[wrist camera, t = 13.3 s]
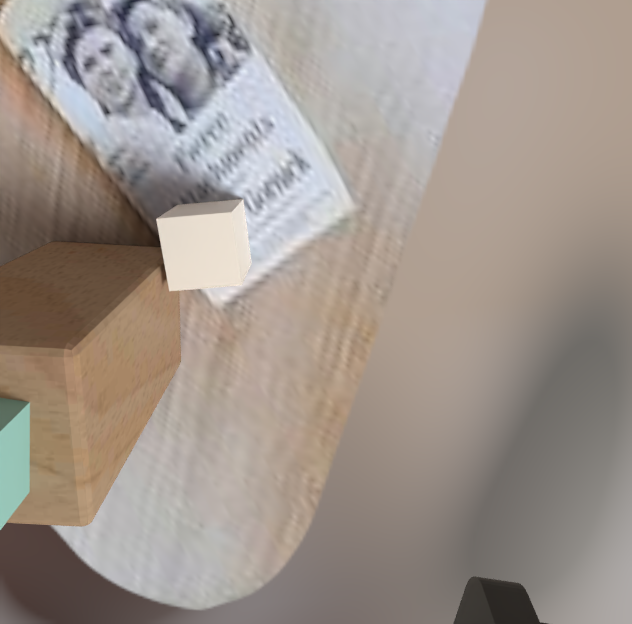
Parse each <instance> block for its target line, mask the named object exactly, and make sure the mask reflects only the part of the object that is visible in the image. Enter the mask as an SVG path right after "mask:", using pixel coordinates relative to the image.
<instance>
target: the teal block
mask: <svg viewBox="0 0 632 624" xmlns="http://www.w3.org/2000/svg"><path fill="white" fill-rule="evenodd" d="M29 490H30V402H25V401H19V400H12V399H5V398H0V530H1V528H2V527H3V526H4V525H5V523H6V522H7V521H8V519H9V518H10V517H11V515H12V514H13V513H14V512H15V510H16V509H17V508H18V506H19V505H20V504H21V502H22V501H23V500H24V499H25V497H26V496H27V495H28V493H29Z"/></svg>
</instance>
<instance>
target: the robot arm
mask: <svg viewBox="0 0 632 624" xmlns="http://www.w3.org/2000/svg"><path fill="white" fill-rule="evenodd" d="M454 624H547V623H540V622H539V619H538V617H537V615H536V612H535V610H534V608H533V605H532V603H531V601H530V598H529V596H528V594H527V592H526V590H525V588H524V587H523V586H522V585H521V584H519V583H515V582H508V581H501V580H495V579H488V578H481V577H471V578H470V579H469V581H468V583H467V585H466V588H465V591H464V594H463V597H462V600H461V603H460V606H459V609H458V612H457V615H456V618H455V621H454Z"/></svg>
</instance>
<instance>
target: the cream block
mask: <svg viewBox="0 0 632 624" xmlns="http://www.w3.org/2000/svg"><path fill="white" fill-rule="evenodd" d="M156 221H157V226H158V232H159V237H160V243H161V248H162V254H163V259H164V265H165V270H166V276H167V281H168V287H169V291H179V290H191V289H203V288H215V287H227V286H239V285H242V283H243V281H244V279H245V277H246V275H247V272H248V270H249V268H250V266H251V264H252V262H251V254H250V247H249V239H248V231H247V224H246V216H245V208H244V201H243V199H237V200H226V201H214V202H203V203H192V204H181V205H176V206H175V207H173V208H172V209H170V210H169V211H167V212H166V213H164V214H163V215H161V216H160V217H158V218H157V219H156Z"/></svg>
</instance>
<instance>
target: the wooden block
mask: <svg viewBox="0 0 632 624" xmlns="http://www.w3.org/2000/svg"><path fill="white" fill-rule="evenodd" d="M180 362H181V346H180V306H179V291H169V287H168V281H167V276H166V270H165V265H164V259H163V254H162V248H161V247H147V246H129V245H111V244H93V243H76V242H58V241H53V242H50V243H48V244H46V245H44V246H42V247H40V248H38V249H35V250H33V251H31V252H29V253H27V254H25V255H23V256H21V257H19V258H17V259H15V260H13V261H11V262H9V263H6V264H4V265H2V266H0V398H5V399H12V400H19V401H25V402H30V490H29V493H28V495H27V496H26V497H25V499H24V500H23V501H22V502H21V504H20V505H19V506H18V508H17V509H16V510H15V512H14V513H13V514H12V515H11V517H10V518H9V519H8V521H7V522H6V523H24V524H43V525H63V526H86V525H88V524H90V523H91V522H92V520H93V519H94V517H95V515H96V513H97V512H98V510H99V508H100V506H101V504H102V503H103V501H104V499H105V497H106V495H107V494H108V492H109V490H110V488H111V486H112V485H113V483H114V481H115V479H116V478H117V476H118V474H119V472H120V470H121V469H122V467H123V465H124V463H125V461H126V460H127V458H128V456H129V454H130V453H131V451H132V449H133V447H134V445H135V444H136V442H137V440H138V438H139V436H140V435H141V433H142V431H143V429H144V427H145V426H146V424H147V422H148V420H149V419H150V417H151V415H152V413H153V411H154V410H155V408H156V406H157V404H158V402H159V401H160V399H161V397H162V395H163V393H164V392H165V390H166V388H167V386H168V385H169V383H170V381H171V379H172V377H173V376H174V374H175V372H176V370H177V368H178V367H179V365H180Z"/></svg>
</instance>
